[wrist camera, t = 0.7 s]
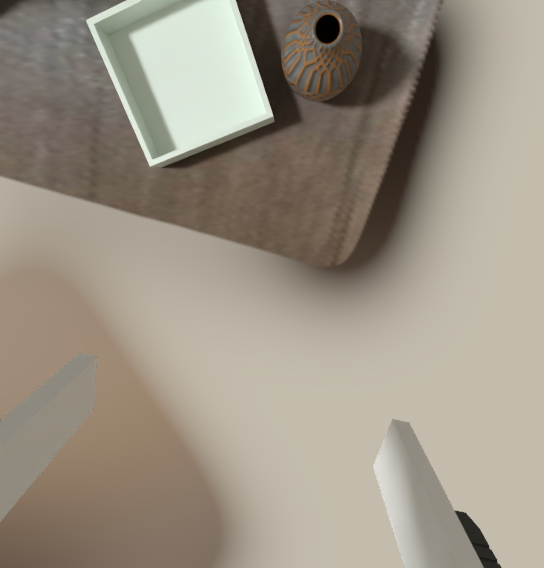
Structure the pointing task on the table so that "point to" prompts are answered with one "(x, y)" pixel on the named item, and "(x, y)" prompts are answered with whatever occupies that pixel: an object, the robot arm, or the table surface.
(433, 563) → the robot arm
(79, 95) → the table surface
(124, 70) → the tray
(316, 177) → the table surface
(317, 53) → the vase
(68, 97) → the table surface
